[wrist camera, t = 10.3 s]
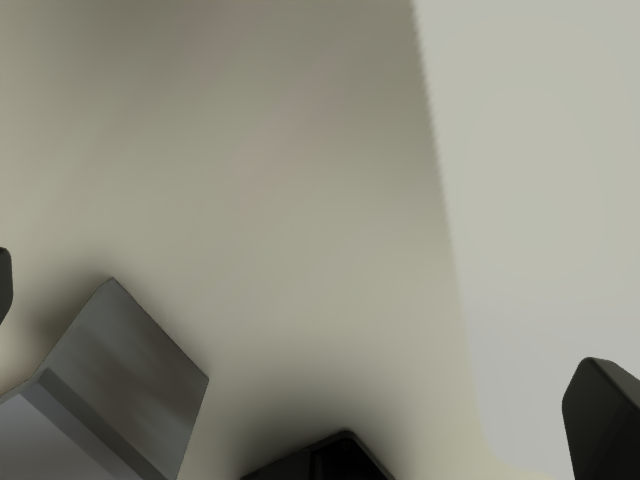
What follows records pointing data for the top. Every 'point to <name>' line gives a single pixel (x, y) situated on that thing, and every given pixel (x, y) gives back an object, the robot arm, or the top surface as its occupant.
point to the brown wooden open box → (103, 400)
